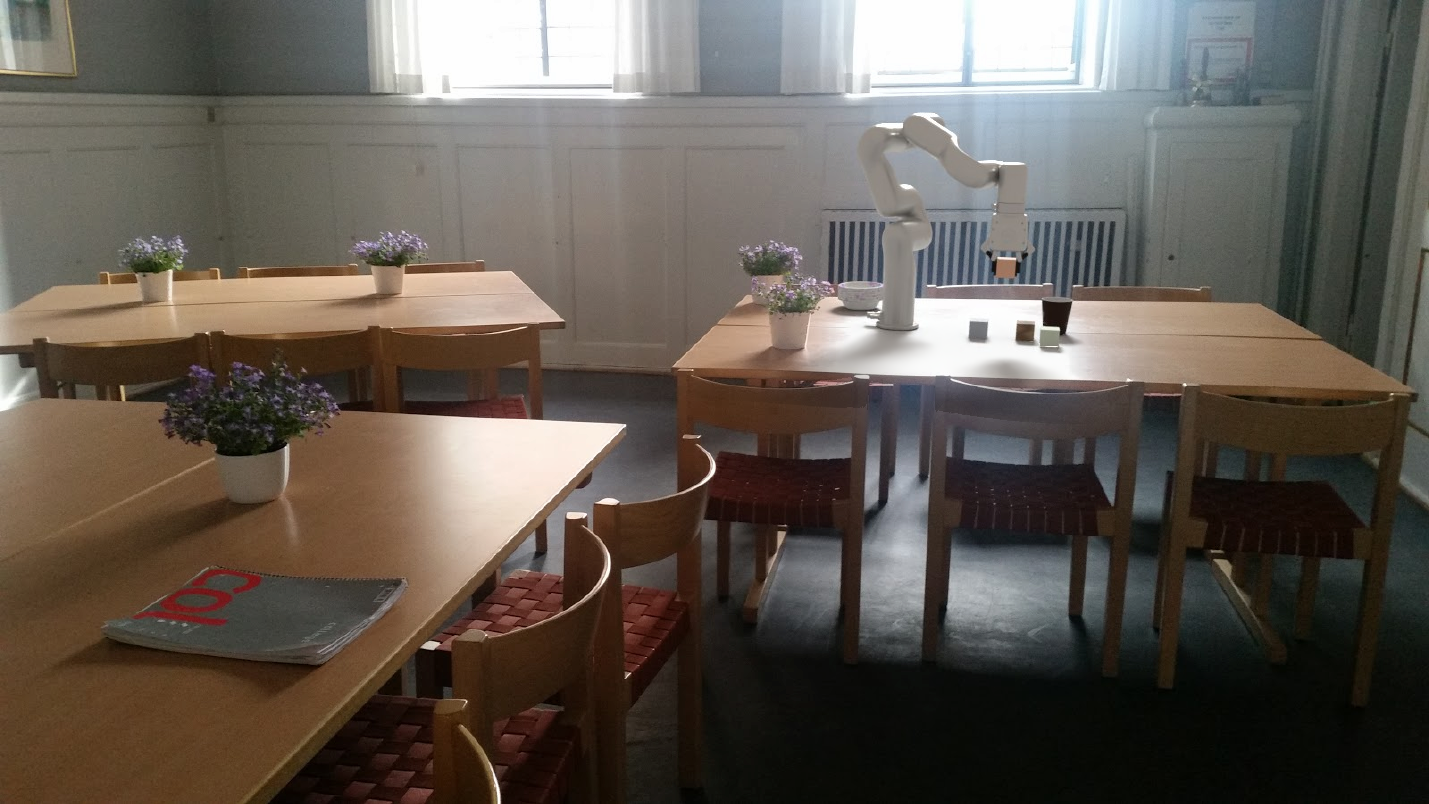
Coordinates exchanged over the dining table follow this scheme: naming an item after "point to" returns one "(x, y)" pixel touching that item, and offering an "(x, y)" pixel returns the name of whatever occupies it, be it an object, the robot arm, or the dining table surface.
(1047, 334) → the sage cube
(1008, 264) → the terracotta cube
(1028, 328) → the walnut cube
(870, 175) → the robot arm
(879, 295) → the white floral bowl
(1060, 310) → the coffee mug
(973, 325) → the slate cube
